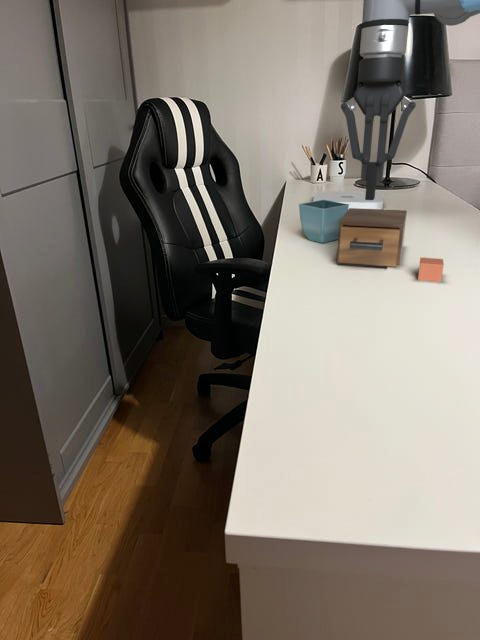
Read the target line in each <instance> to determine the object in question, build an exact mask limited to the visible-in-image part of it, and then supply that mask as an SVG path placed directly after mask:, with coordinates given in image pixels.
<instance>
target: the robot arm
mask: <svg viewBox="0 0 480 640" xmlns="http://www.w3.org/2000/svg"><path fill="white" fill-rule="evenodd" d="M431 14H432V15H433V16H434V18H435V19H436V20H437V21H438V22H439V23H440V24H443V25H445V26H448V27H449V26H450V27H451V26H457V25H460V24H463V23H464V22H466V21H467V20H468V19H470V18H471V17H474V16H476V15H479V14H480V0H363V4H362V21H361V33H360V35H361V36H360V45H359V47H360V48H359V55H360V57H362V59H360V61H359V62H358V75H357V86H356V89H355V90H354V93H353V96H352V97H351V98H350V99H349V100H347V101H346V102H342V103H341V104H340V109H341V111H342V113H343V115H344V117H345V120H346V126H347V132H348V133H347V134H348V139H349V145H350V150H351V156H352V158H353V159H354V160H357V161H359V162H360V163H361V169H360V170H361V172H360V179H361V182H366V185H365V192H366V195H365V200H374V198H375V192H376V190H377V189H376V188H377V187H376V186H377V182H382V180H383V178H384V168H385V163H386V162H388V161H391V160H393V159H394V158H395V157H396V154H397V152H398V149H399V146H400V143H401V139H402V137H403V134H404V131H405V128H406V125H407V122H408V121H409V120H408V119H409V117H410V116H411V114H412V112H413V111H414V110H415V109H416V107H417V103H416V102H415V101H413V100H411V99H409V98H408V97H407V96H405V90H404V85H403V84H404V76H405V75H404V74H405V63H406V60H405V58H403V56H404V55H405V54H406V53H407V45H408V36H409V27H410V26H409V24H410V16H414V15H415V16H419V15H431ZM400 103H401V106H400V111H401V112H402V113H401V114H400V117H399V120H398V123H397V126H396V129H395V131H394V135H393V138H392V141H391V144H390V146H389V150H388V152H386V149H387V139H388V128H389V119H390V118H389V117H390V115H391V114H393V112H394V111H395V110H396V108H397V107H398V106H399V104H400ZM356 104H357V106H358V107H359V110H360V111H361V113H362V114H363V115H364V130H363V143H362V152H361V149H360V141H359V136H358V130H357V129H358V128H357V122H356V116H355V113H354V112H355V111H356V108H357V107H356ZM376 116H377V117H379V127H378V128H379V130H378V139H377V140H378V142H377V153H376V161H371V153H372V141H373V130H374V121H375V117H376Z"/></svg>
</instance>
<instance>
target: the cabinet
mask: <svg viewBox="0 0 480 640" xmlns="http://www.w3.org/2000/svg"><path fill="white" fill-rule="evenodd" d="M407 213H408V210H405V209H403V210H402V209H358V208H349V209H348V211H347V212H346V213H345V214H344V216H343V217H342V218H341V220H340V221H339V234H338V238H337V251H336V253H337V254H336V265H342V266H343V265H344V266H354V267H356V266H357V267H368V268H370V267H371V268H381V269H382V268H384V269H388V267H389V266H379V265H366V264H352V263H339V247H340V230H341V227H342V226H345V227H346V225H350V226H369V227H389V228H398V229H400V235H399V245H398V254H397V264H396V266H400V264H401V259H402V254H403V247H404V242H405V231H406V223H407V222H406V221H407Z"/></svg>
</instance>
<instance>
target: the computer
mask: <svg viewBox="0 0 480 640" xmlns="http://www.w3.org/2000/svg"><path fill="white" fill-rule="evenodd" d="M365 195H366V191H352V190H351V191H344V190H342V191H341V190H339V191H337V190H332V191H331V190H329V191H328V190H322V191H321V190H320V191H315V192H314V195H313V199H312V202H313V201H319V200H328V201H334V202H339V203H344V204H349V207H348V209H349V208H358V209H383V208H384V200H383V198H382V195H381V193H380V192H378V191H375V198H374V200H365ZM383 210H384V209H383Z"/></svg>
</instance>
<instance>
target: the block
mask: <svg viewBox="0 0 480 640" xmlns="http://www.w3.org/2000/svg"><path fill="white" fill-rule="evenodd" d="M418 265H419V266H418V275H417V281H421V282H423V281H424V282H434V283H435V282H436V283H442V278H443V270H444V265H445V264H444V259H443V258H435V257H434V258H432V257H420V258H419V264H418Z"/></svg>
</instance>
